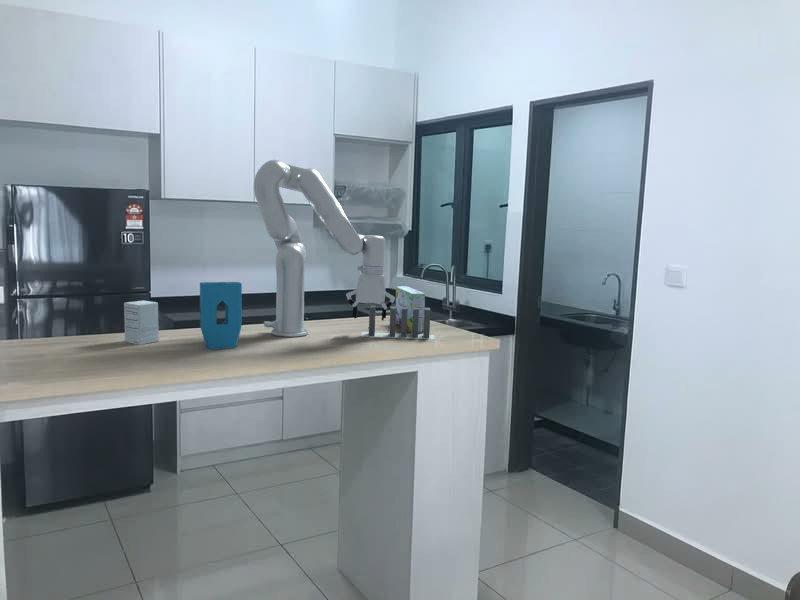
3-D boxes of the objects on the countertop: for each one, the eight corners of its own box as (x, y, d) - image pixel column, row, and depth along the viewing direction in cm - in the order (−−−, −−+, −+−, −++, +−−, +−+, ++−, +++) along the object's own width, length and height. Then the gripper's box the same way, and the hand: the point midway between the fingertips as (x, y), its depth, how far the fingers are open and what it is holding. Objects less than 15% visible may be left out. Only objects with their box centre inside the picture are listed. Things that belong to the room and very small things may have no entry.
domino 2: (388, 336, 221) (389, 308, 219) (388, 333, 226) (389, 306, 224) (395, 336, 221) (396, 308, 219) (395, 334, 226) (396, 306, 224)
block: (202, 349, 192) (201, 284, 189) (199, 346, 196) (199, 282, 194) (242, 347, 197) (242, 283, 194) (238, 344, 201) (238, 281, 199)
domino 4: (411, 337, 221) (412, 309, 219) (410, 334, 226) (412, 307, 224) (417, 337, 221) (418, 309, 219) (417, 335, 226) (418, 307, 224)
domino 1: (367, 335, 221) (368, 307, 219) (368, 333, 226) (369, 305, 224) (374, 336, 221) (375, 307, 219) (374, 333, 226) (375, 305, 224)
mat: (360, 337, 219) (360, 336, 219) (362, 333, 227) (362, 332, 227) (435, 340, 219) (435, 339, 219) (434, 335, 227) (434, 334, 227)
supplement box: (144, 338, 205) (143, 300, 203) (159, 341, 201) (158, 302, 199) (124, 342, 198) (123, 302, 197) (139, 345, 195) (138, 304, 193)
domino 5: (422, 337, 221) (423, 309, 219) (422, 335, 226) (423, 307, 224) (429, 338, 221) (430, 309, 219) (428, 335, 226) (429, 307, 224)
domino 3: (399, 337, 221) (400, 308, 219) (399, 334, 226) (400, 306, 224) (406, 337, 221) (407, 309, 219) (406, 334, 226) (407, 307, 224)
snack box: (393, 323, 250) (395, 286, 248) (407, 323, 252) (408, 286, 250) (410, 333, 230) (412, 292, 228) (425, 333, 232) (426, 292, 230)
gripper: (346, 269, 216) (343, 318, 219) (396, 273, 216) (393, 322, 219) (348, 268, 224) (345, 315, 226) (397, 271, 224) (393, 319, 226)
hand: (369, 318), depth 222 cm, fingers open, 9 cm apart
